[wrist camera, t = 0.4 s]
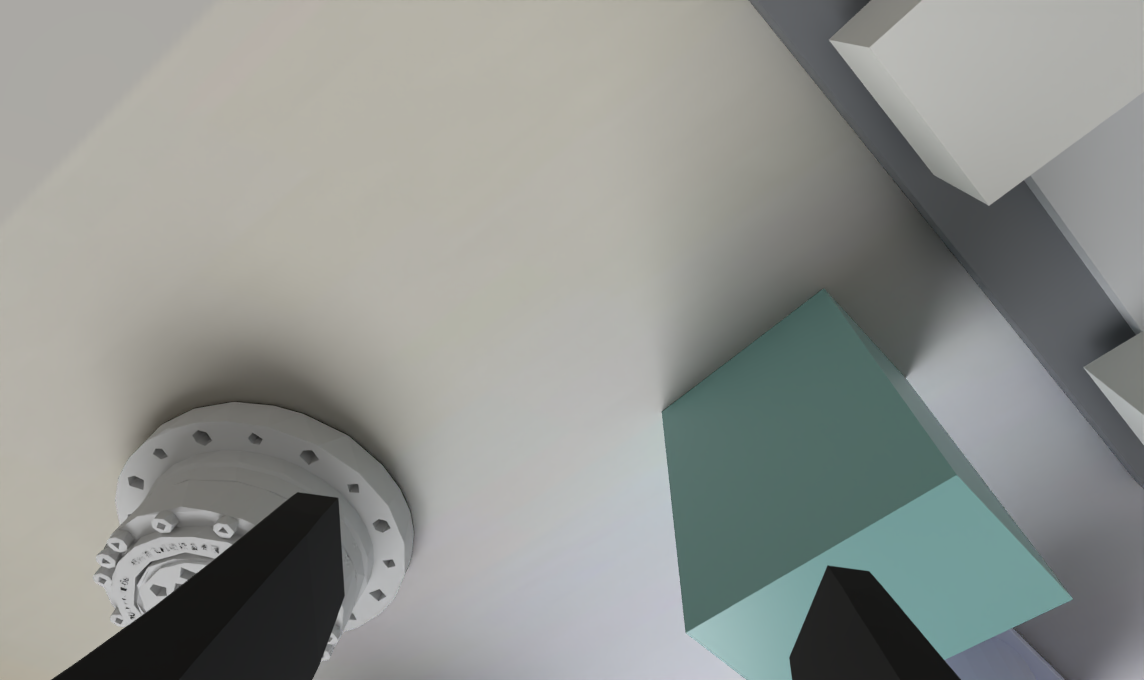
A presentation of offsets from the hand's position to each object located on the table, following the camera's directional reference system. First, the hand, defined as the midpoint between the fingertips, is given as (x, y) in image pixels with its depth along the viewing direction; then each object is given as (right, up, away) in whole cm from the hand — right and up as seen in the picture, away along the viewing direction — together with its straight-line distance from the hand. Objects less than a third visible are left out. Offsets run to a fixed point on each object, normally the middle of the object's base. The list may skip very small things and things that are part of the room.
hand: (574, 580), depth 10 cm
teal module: (+6, +2, +10) cm, 12 cm away
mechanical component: (-11, -3, +14) cm, 18 cm away
